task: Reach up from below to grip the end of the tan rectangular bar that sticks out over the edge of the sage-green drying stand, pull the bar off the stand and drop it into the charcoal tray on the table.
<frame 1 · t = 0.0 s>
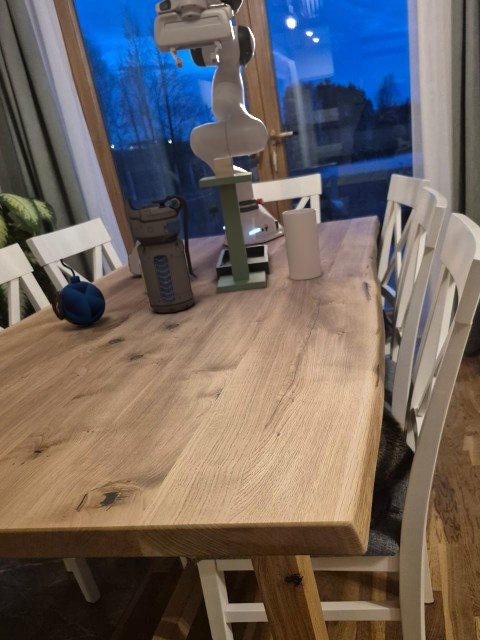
hand: (197, 64, 150), 52 cm above the table, tool tilted 20°, fingers open, 8 cm apart
tan rectangular bar: (225, 176, 137), point 26 cm above the table, touching drying stand
sculpture: (152, 270, 178), on the table
pill bottle: (157, 292, 151), on the table
cup: (305, 276, 148), on the table
drying stand: (242, 284, 148), on the table
bomb: (85, 326, 129), on the table
tray: (245, 266, 167), on the table
grenade canister: (177, 308, 134), on the table
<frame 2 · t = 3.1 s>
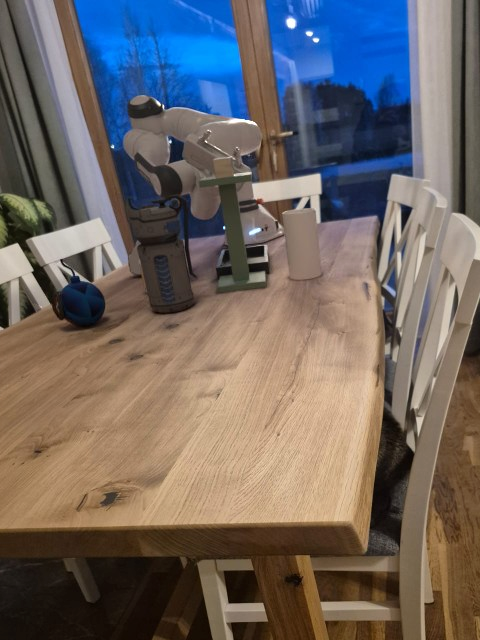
hand: (223, 140, 159), 33 cm above the table, tool pointing upward, fingers open, 8 cm apart
nothing on the table moved.
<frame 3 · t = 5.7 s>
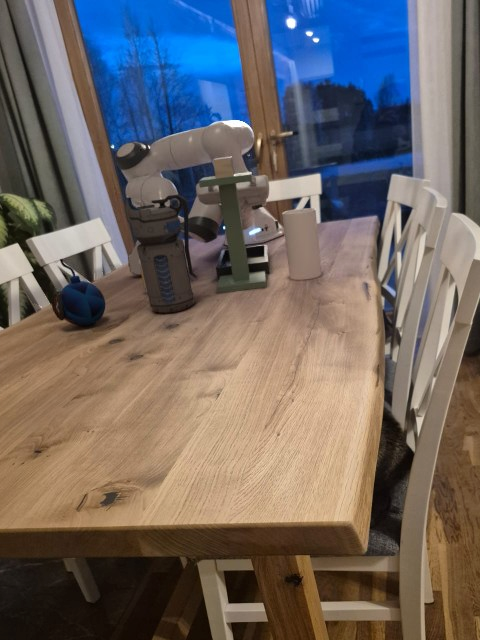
hand: (229, 176, 154), 25 cm above the table, tool pointing upward, fingers open, 8 cm apart
nothing on the table moved.
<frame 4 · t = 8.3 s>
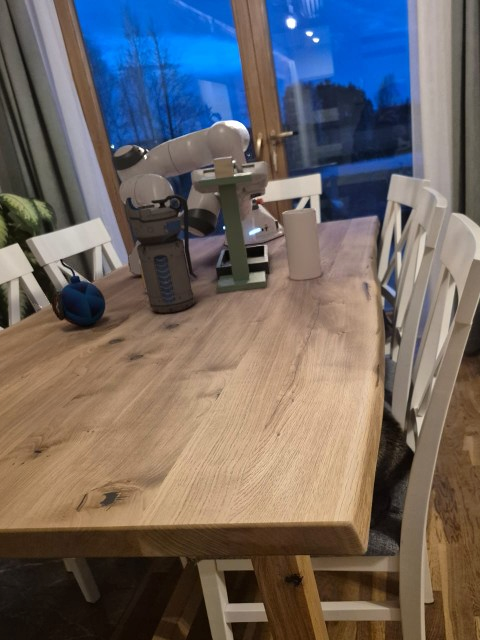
hand: (226, 162, 146), 28 cm above the table, tool pointing upward, fingers closed on tan rectangular bar, 2 cm apart
tan rectangular bar: (225, 176, 137), point 26 cm above the table, touching drying stand, gripper
everything else where it was.
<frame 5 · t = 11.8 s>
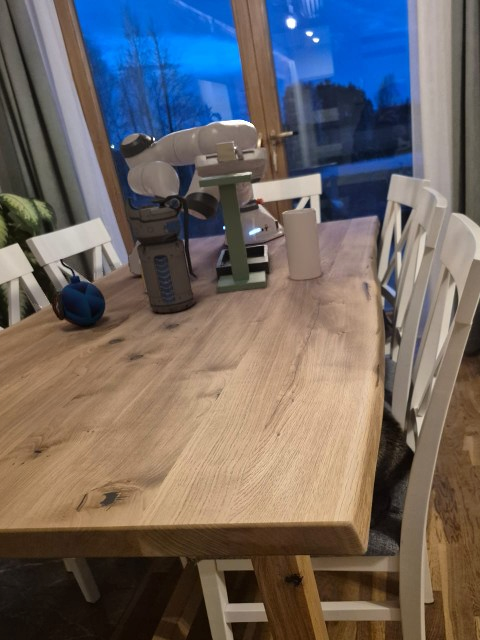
hand: (228, 148, 155), 31 cm above the table, tool pointing upward, fingers closed on tan rectangular bar, 2 cm apart
tan rectangular bar: (227, 160, 146), point 29 cm above the table, touching gripper
everything else where it was.
when the fingers open (19 cm above the table, at t = 15.2 s): tan rectangular bar drops 16 cm, resting on tray.
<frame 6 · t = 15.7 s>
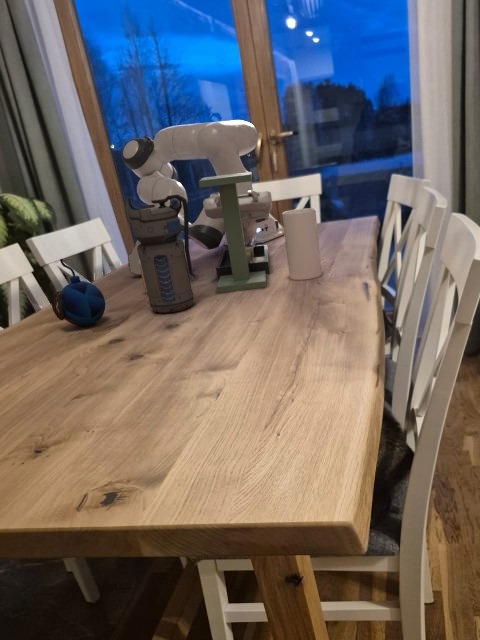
hand: (235, 193, 164), 20 cm above the table, tool pointing upward, fingers open, 7 cm apart
tan rectangular bar: (246, 264, 164), point 1 cm above the table, touching tray
everything else where it was.
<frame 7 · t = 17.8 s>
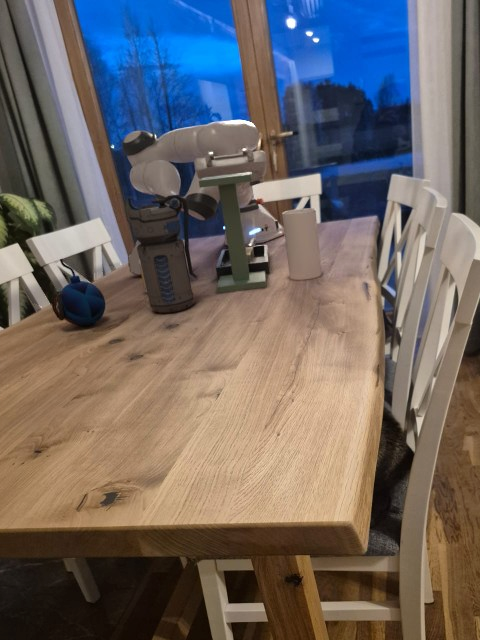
hand: (227, 151, 156), 31 cm above the table, tool pointing upward, fingers open, 8 cm apart
nothing on the table moved.
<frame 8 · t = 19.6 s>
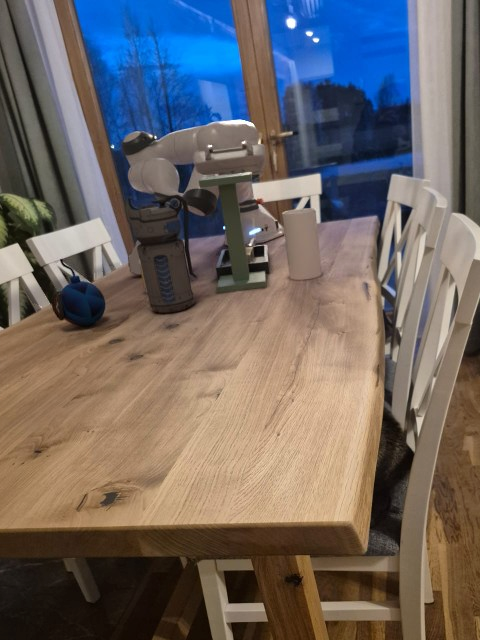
hand: (226, 144, 155), 32 cm above the table, tool pointing upward, fingers open, 8 cm apart
nothing on the table moved.
at the end: tan rectangular bar touching tray; tan rectangular bar inside the target area on the tray (2.7 cm from its centre), point 1.2 cm above the tray's base; the gripper is holding nothing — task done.
